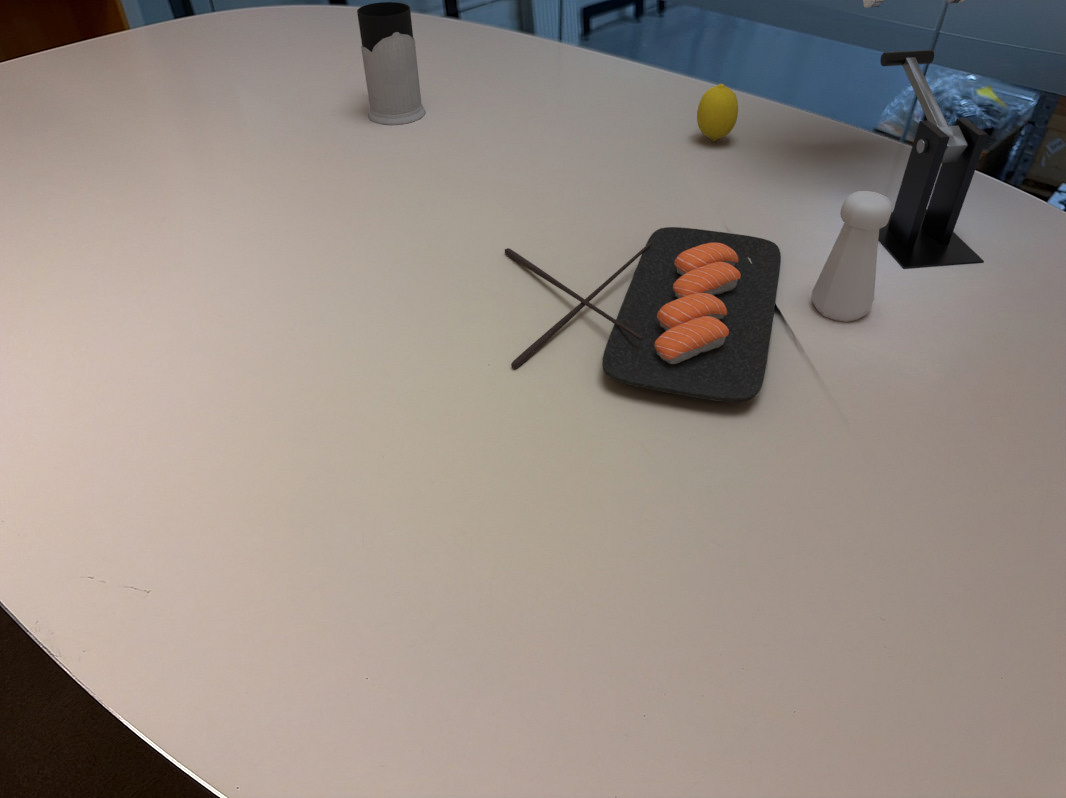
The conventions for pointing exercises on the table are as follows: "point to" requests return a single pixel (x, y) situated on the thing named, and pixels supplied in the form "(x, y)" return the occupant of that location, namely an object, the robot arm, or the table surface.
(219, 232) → the table surface
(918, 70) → the lever
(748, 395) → the sushi plate
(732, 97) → the lemon
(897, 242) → the bracket
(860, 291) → the salt shaker
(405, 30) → the glass holder
